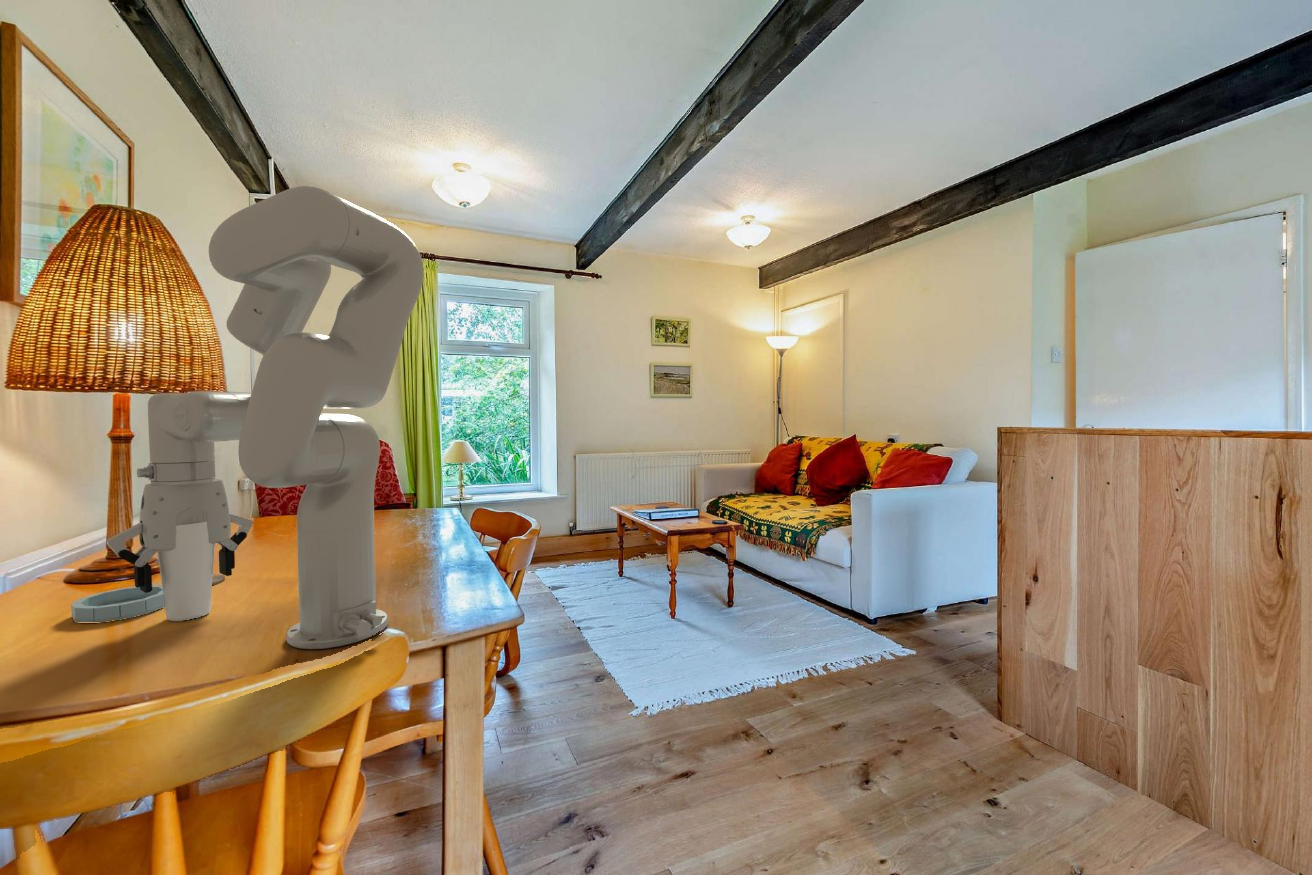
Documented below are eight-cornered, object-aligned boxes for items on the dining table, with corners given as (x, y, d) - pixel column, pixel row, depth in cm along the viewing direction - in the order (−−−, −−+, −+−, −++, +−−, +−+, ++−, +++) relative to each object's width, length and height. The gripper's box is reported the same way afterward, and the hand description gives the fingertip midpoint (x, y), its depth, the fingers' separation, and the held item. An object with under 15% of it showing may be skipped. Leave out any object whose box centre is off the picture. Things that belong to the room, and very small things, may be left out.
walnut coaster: (232, 581, 100) (232, 579, 100) (169, 595, 93) (169, 592, 93) (214, 573, 105) (214, 571, 105) (154, 585, 98) (154, 583, 98)
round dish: (179, 606, 87) (179, 592, 87) (82, 629, 78) (81, 613, 78) (158, 594, 93) (158, 581, 93) (66, 614, 84) (65, 599, 84)
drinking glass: (148, 621, 81) (144, 524, 80) (198, 606, 87) (194, 516, 87) (179, 626, 79) (175, 526, 78) (227, 610, 85) (224, 518, 85)
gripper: (111, 480, 73) (116, 603, 73) (259, 469, 87) (262, 572, 88) (97, 477, 77) (102, 593, 78) (241, 467, 91) (244, 565, 92)
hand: (187, 582), depth 83 cm, fingers open, 9 cm apart
